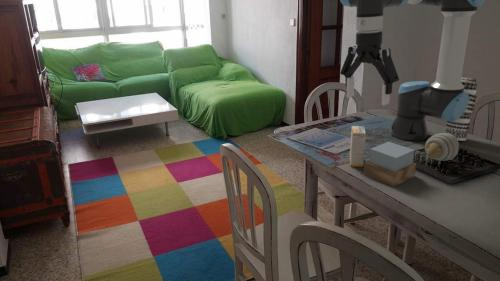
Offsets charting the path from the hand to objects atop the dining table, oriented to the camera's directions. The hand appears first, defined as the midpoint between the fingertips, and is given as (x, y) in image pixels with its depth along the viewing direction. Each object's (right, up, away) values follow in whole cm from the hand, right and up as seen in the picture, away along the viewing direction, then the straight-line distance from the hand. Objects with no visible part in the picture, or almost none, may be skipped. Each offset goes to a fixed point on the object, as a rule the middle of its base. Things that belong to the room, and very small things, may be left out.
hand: (367, 100), depth 120 cm
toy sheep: (+33, -21, +18) cm, 43 cm away
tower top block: (+11, -20, +9) cm, 25 cm away
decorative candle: (+48, -12, +38) cm, 63 cm away
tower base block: (+11, -25, +11) cm, 29 cm away
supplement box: (+3, -21, +21) cm, 30 cm away
